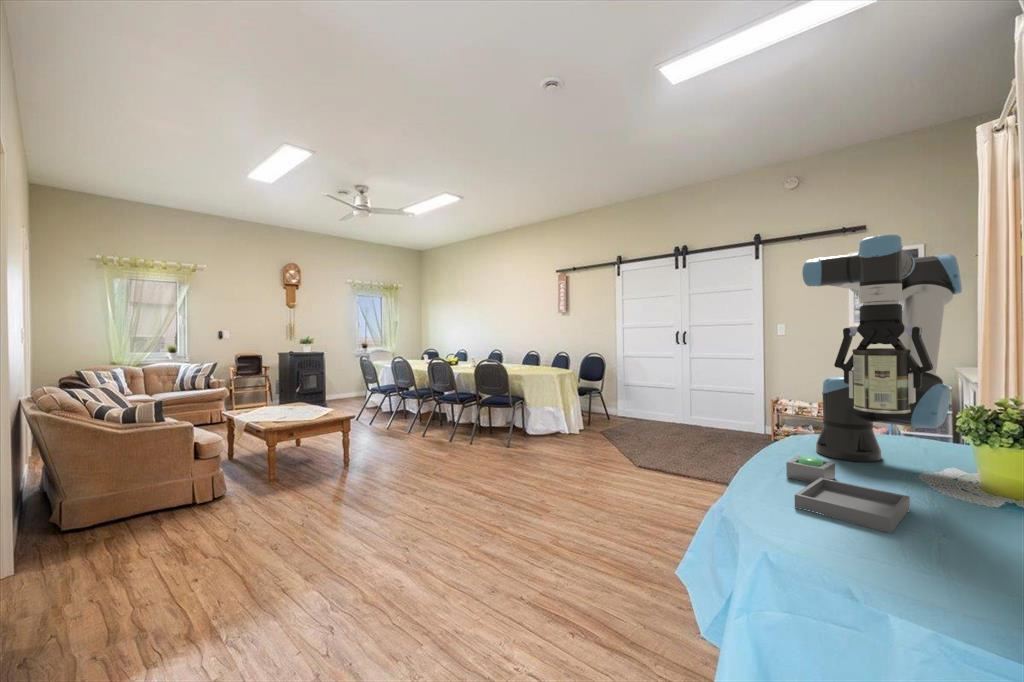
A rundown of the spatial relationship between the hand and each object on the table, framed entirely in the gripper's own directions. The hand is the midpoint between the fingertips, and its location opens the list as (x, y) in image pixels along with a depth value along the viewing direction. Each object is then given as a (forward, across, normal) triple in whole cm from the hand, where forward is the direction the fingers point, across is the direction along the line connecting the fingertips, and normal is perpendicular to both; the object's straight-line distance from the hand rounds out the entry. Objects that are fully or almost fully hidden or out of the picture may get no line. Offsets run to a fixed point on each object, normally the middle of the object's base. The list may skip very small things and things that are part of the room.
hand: (881, 399), depth 102 cm
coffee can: (+3, 0, 0) cm, 3 cm away
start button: (+20, -13, -4) cm, 24 cm away
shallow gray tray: (+20, -1, -19) cm, 28 cm away
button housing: (+21, -13, -4) cm, 25 cm away
